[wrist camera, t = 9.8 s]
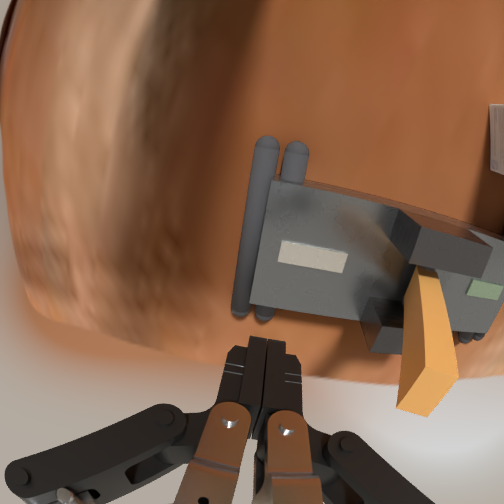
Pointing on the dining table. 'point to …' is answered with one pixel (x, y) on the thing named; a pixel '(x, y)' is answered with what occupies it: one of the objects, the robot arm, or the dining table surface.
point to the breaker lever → (425, 345)
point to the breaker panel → (371, 260)
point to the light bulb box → (497, 138)
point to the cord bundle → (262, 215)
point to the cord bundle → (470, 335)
